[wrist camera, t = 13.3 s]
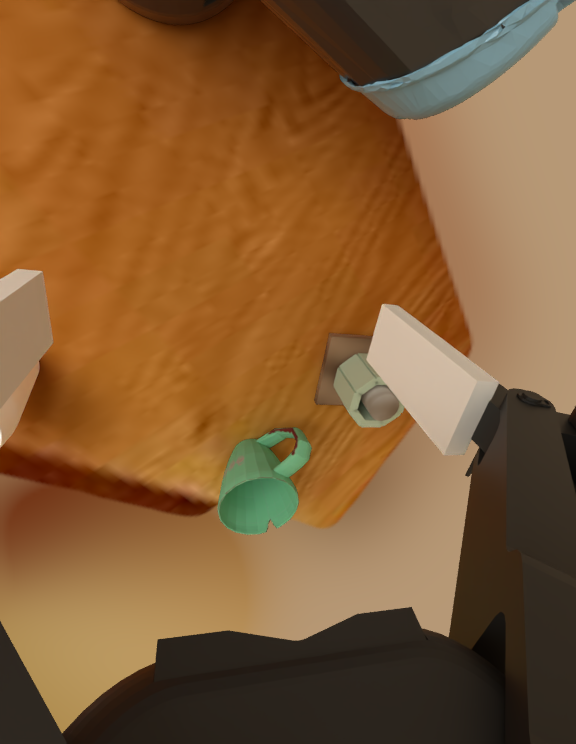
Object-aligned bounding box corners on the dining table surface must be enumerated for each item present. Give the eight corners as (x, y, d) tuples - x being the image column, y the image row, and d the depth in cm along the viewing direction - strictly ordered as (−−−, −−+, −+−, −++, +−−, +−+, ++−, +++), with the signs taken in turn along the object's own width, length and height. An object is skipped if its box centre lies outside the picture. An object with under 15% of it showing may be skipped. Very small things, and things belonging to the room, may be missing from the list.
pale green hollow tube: (341, 352, 46) (358, 376, 41) (392, 355, 48) (414, 378, 43) (329, 399, 50) (344, 427, 45) (377, 400, 51) (397, 427, 46)
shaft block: (329, 333, 47) (354, 367, 39) (401, 338, 49) (438, 371, 41) (314, 400, 51) (334, 442, 44) (380, 401, 54) (410, 442, 46)
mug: (257, 485, 57) (266, 543, 49) (201, 462, 53) (201, 521, 44) (318, 418, 53) (341, 468, 45) (264, 387, 49) (277, 435, 40)
